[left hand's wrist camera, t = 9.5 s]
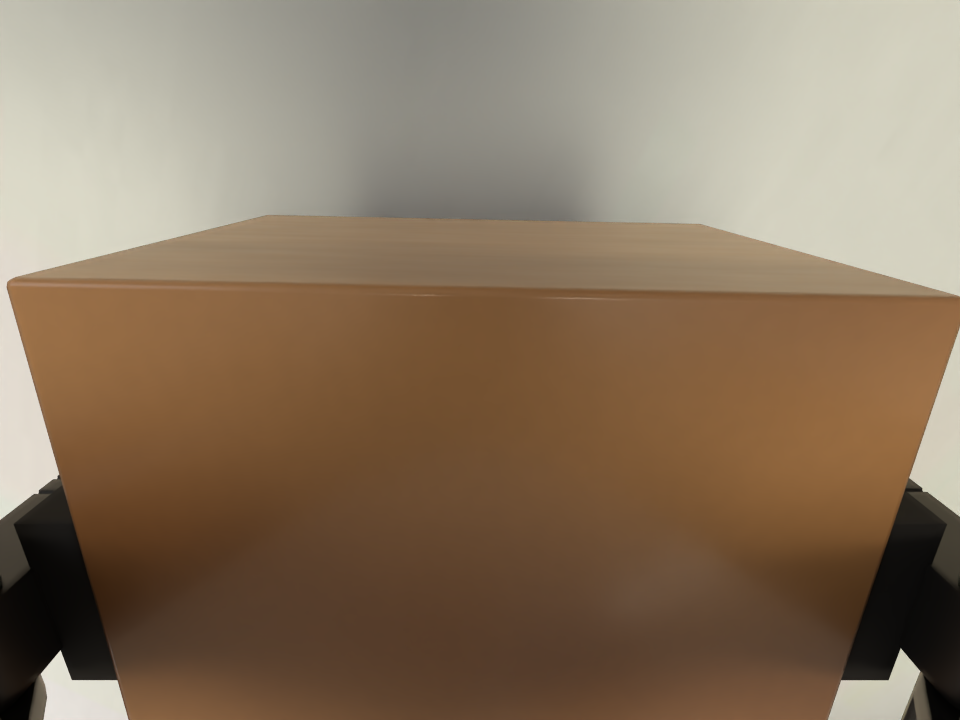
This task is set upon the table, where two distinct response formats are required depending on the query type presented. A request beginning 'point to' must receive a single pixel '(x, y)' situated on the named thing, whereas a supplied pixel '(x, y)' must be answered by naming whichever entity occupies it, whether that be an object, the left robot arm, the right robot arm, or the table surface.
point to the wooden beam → (480, 465)
